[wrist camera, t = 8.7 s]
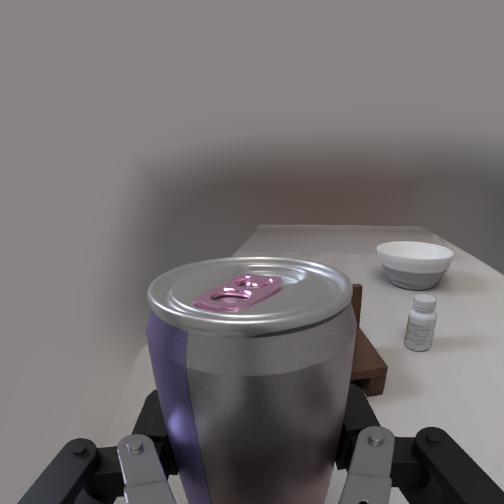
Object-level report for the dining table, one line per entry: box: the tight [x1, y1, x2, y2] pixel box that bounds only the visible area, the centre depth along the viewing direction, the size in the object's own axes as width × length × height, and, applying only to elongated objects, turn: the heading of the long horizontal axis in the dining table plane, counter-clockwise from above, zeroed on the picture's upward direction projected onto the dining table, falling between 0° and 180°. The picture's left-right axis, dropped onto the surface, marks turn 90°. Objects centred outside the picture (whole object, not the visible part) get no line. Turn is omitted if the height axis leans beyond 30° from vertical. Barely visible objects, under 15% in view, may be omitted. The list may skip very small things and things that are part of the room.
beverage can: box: [146, 256, 357, 504], centre depth 10 cm, size 6×6×15 cm
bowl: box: [377, 241, 454, 290], centre depth 69 cm, size 20×20×8 cm
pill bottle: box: [405, 294, 437, 351], centre depth 42 cm, size 4×4×8 cm
